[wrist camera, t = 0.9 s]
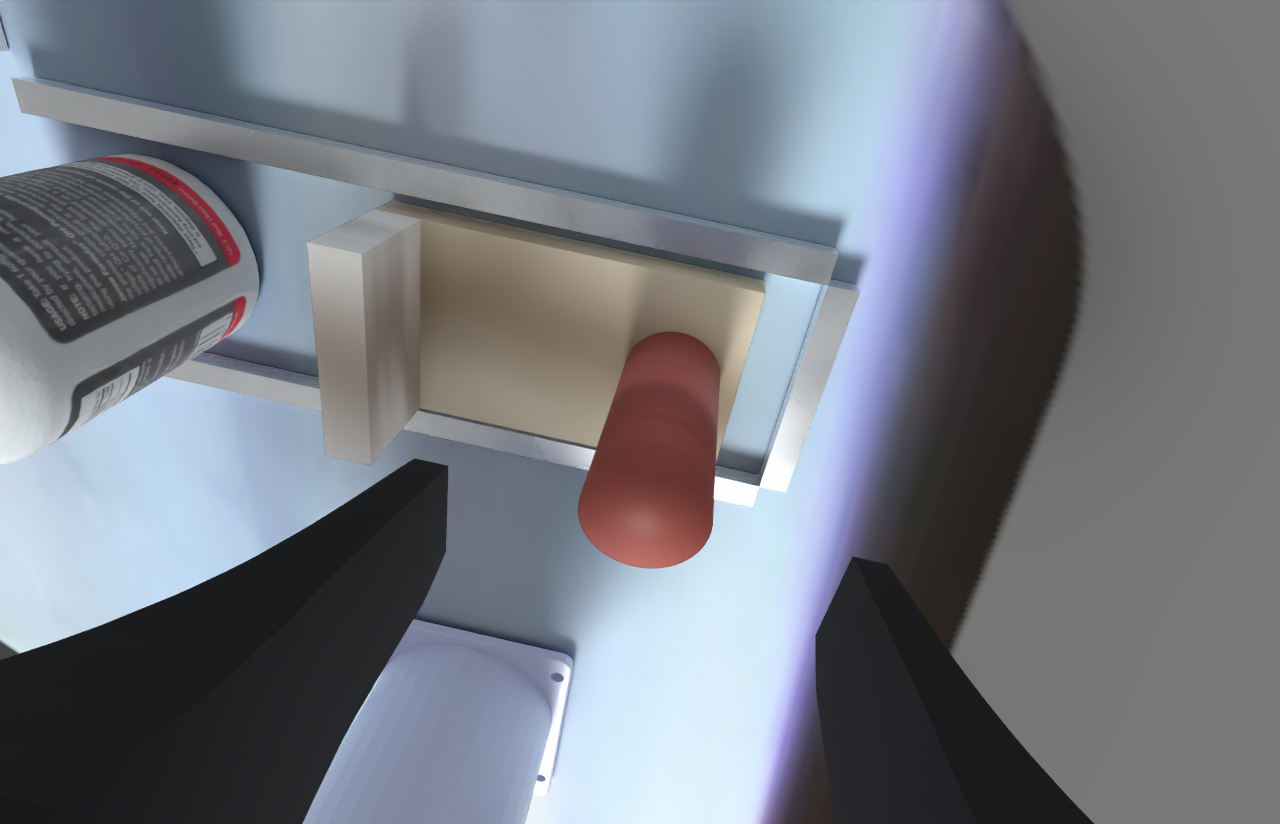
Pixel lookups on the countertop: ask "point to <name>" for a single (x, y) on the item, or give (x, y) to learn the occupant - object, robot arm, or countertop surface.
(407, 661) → the robot arm
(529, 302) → the red peg in tray
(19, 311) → the pill bottle
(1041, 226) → the countertop surface
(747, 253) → the track
